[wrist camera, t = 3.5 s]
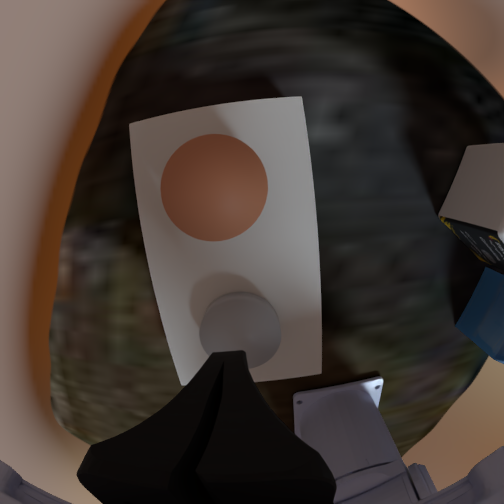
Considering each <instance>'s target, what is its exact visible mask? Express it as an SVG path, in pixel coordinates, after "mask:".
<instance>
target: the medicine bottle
mask: <svg viewBox="0 0 504 504" xmlns="http://www.w3.org/2000/svg"><path fill="white" fill-rule="evenodd" d="M438 217H439V219H440V220H441V221H442V222H443V223H444V224H445V225H446V226H447V227H448V228H449V229H450V230H452V231H453V232H454V233H455V234H456V235H457V236H458V237H459V238H460V239H461V240H462V241H463V243H464V244H465V245H466V246H467V247H468V248H469V249H470V250H471V251H472V252H473V253H474V254H475V255H476V256H477V257H478V258H479V259H480V260H482V261H484V262H486V263H488V264H491V265H493V266H495V267H497V268H500V269H502V270H504V143H495V144H482V145H470V146H467V147H466V150H465V153H464V156H463V158H462V161H461V163H460V166H459V169H458V171H457V173H456V176H455V178H454V181H453V183H452V185H451V188H450V190H449V192H448V194H447V197H446V199H445V201H444V203H443V205H442V207H441V210H440V212H439V214H438Z"/></svg>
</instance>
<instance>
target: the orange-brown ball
mask: <svg viewBox="0 0 504 504" xmlns="http://www.w3.org/2000/svg"><path fill="white" fill-rule="evenodd" d="M160 190H161V199H162V203H163V206H164V209H165V211H166V213H167V215H168V217H169V218H170V220H171V221H172V222H173V223H174V224H175V226H176V227H178V228H179V229H180V230H181V231H183V232H184V233H185V234H187V235H189V236H191V237H193V238H196V239H199V240H204V241H223V240H228V239H231V238H234V237H236V236H238V235H240V234H242V233H243V232H245V231H246V230H247V229H248V228H250V227H251V226H252V225H253V224H254V223H255V221H256V220H257V219H258V217H259V216H260V214H261V212H262V210H263V208H264V206H265V203H266V199H267V194H268V180H267V175H266V171H265V168H264V166H263V164H262V162H261V160H260V158H259V157H258V155H257V154H256V153H255V152H254V150H253V149H252V148H250V147H249V146H248V145H247V144H245V143H244V142H242V141H241V140H239V139H237V138H234V137H231V136H228V135H223V134H207V135H202V136H198V137H196V138H193V139H191V140H189V141H187V142H186V143H184V144H183V145H181V146H180V147H179V148H178V149H177V150H176V151H175V152H174V153H173V154H172V156H171V157H170V159H169V160H168V162H167V164H166V166H165V168H164V171H163V174H162V178H161V187H160Z"/></svg>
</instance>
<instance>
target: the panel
mask: <svg viewBox="0 0 504 504" xmlns="http://www.w3.org/2000/svg"><path fill="white" fill-rule="evenodd" d="M129 130H130V143H131V154H132V164H133V173H134V181H135V189H136V197H137V203H138V210H139V216H140V223H141V228H142V234H143V240H144V245H145V250H146V255H147V260H148V265H149V270H150V274H151V279H152V283H153V288H154V292H155V296H156V300H157V304H158V308H159V312H160V316H161V320H162V323H163V327H164V331H165V334H166V338H167V341H168V344H169V348H170V351H171V354H172V358H173V361H174V364H175V367H176V370H177V373H178V376H179V379H180V382H181V385H187V384H188V383H189V382H190V380H191V379H192V378H193V377H194V376H195V374H196V373H197V372H198V371H199V369H200V368H201V367H202V365H203V364H204V363H205V361H206V360H207V359H208V357H209V356H208V354H207V353H206V352H205V350H204V349H203V347H202V345H201V342H200V337H199V331H200V326H201V322H202V320H203V317H204V314H205V312H206V310H207V308H208V307H209V305H210V304H211V303H212V302H213V301H214V300H216V299H217V298H219V297H220V296H222V295H225V294H228V293H232V292H248V293H253V294H256V295H258V296H260V297H262V298H264V299H265V300H266V301H268V302H269V303H270V304H271V305H272V306H273V308H274V309H275V311H276V313H277V315H278V318H279V323H280V329H281V342H280V346H279V348H278V350H277V352H276V353H275V355H274V356H273V357H272V358H271V359H270V360H268V361H267V362H266V363H264V364H262V365H260V366H258V367H255V368H251V369H249V371H250V374H251V376H252V378H253V381H254V382H262V381H271V380H280V379H289V378H296V377H303V376H310V375H316V374H322V313H321V282H320V262H319V245H318V231H317V218H316V206H315V195H314V185H313V176H312V167H311V159H310V151H309V143H308V135H307V128H306V121H305V115H304V108H303V102H302V97H283V98H269V99H258V100H249V101H240V102H232V103H225V104H218V105H212V106H206V107H200V108H195V109H189V110H184V111H180V112H175V113H170V114H166V115H162V116H157V117H153V118H149V119H145V120H142V121H138V122H134V123H131V124H129ZM207 134H223V135H228V136H231V137H234V138H237V139H239V140H241V141H242V142H244V143H245V144H247V145H248V146H249V147H250V148H252V149H253V150H254V152H255V153H256V154H257V155H258V157H259V158H260V160H261V162H262V164H263V166H264V168H265V171H266V175H267V180H268V194H267V199H266V203H265V206H264V208H263V210H262V212H261V214H260V216H259V217H258V219H257V220H256V221H255V223H254V224H253V225H252V226H251V227H250V228H248V229H247V230H246V231H245V232H243V233H242V234H240V235H238V236H236V237H234V238H231V239H228V240H223V241H204V240H199V239H196V238H193V237H191V236H189V235H187V234H185V233H184V232H183V231H181V230H180V229H179V228H178V227H176V226H175V224H174V223H173V222H172V221H171V220H170V218H169V217H168V215H167V213H166V211H165V209H164V206H163V203H162V199H161V190H160V187H161V178H162V174H163V171H164V168H165V166H166V164H167V162H168V160H169V159H170V157H171V156H172V154H173V153H174V152H175V151H176V150H177V149H178V148H179V147H180V146H181V145H183V144H184V143H186V142H187V141H189V140H191V139H193V138H196V137H198V136H202V135H207Z"/></svg>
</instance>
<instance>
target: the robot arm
mask: <svg viewBox="0 0 504 504" xmlns="http://www.w3.org/2000/svg"><path fill="white" fill-rule="evenodd" d="M377 385H378V386H377ZM382 386H383V379H382V377H380V376H378V377H374V378H369V379H365V380H361V381H356V382H352V383H347V384H342V385H337V386H332V387H326V388H321V389H315V390H308V391H301V392H297V393H295V394H294V395H293V406H294V428H295V434H294V433H293V432H292V431H291V430H290V429H289V428H288V427H287V426H286V425H285V424H284V423H283V422H282V421H281V420H280V419H279V418H278V417H277V415H276V414H275V413H274V412H273V411H272V409H271V408H270V407H269V405H268V404H267V403H266V401H265V400H264V398H263V397H262V395H261V393H260V392H259V390H258V388H257V386H256V385H255V383H254V381H253V378H252V376H251V374H250V371H249V368H248V362H247V356H246V352H245V351H243V350H236V351H224V352H213V353H212V354H211V355H210V356H209V357H208V359H207V360H206V361H205V363H204V364H203V365H202V367H201V368H200V369H199V371H198V372H197V373H196V374H195V376H194V377H193V378H192V379H191V380H190V382H189V383H188V384H187V385H186V386H185V387H184V388H183V389H182V390H181V391H180V392H179V393H178V394H177V395H176V396H175V397H174V398H173V399H172V400H171V401H170V402H169V403H168V404H167V405H165V406H164V407H163V408H162V409H161V410H159V411H158V412H157V413H155V414H154V415H152V416H151V417H149V418H148V419H146V420H145V421H143V422H142V423H140V424H139V425H137V426H135V427H133V428H131V429H130V430H128V431H126V432H124V433H122V434H119V435H117V436H115V437H113V438H110V439H107V440H105V441H102V442H99V443H97V444H93V445H91V446H90V448H89V450H88V452H87V454H86V455H85V457H84V459H83V461H82V463H81V465H80V468H79V469H78V471H77V477H78V479H79V481H80V483H81V484H82V485H83V486H84V487H85V488H86V489H87V490H88V491H89V492H90V493H92V494H93V495H94V496H95V497H96V498H97V499H98V500H99V501H100V502H101V503H103V504H504V446H502V447H501V448H499V449H497V450H496V451H494V452H493V453H492V454H490V455H489V456H487V457H486V458H484V459H483V460H481V461H480V462H479V463H478V464H476V465H475V466H474V467H473V468H472V469H471V471H470V472H469V473H468V475H467V476H466V477H464V478H463V479H461V480H459V481H457V482H456V483H454V484H452V485H450V486H448V487H447V488H445V489H442V490H441V491H439V492H437V490H436V488H435V485H434V483H433V481H432V480H431V477H430V475H429V473H428V471H427V469H426V467H425V466H424V465H420V464H419V465H417V463H413V464H412V465H410V466H408V468H407V467H406V465H405V464H404V462H403V460H402V458H401V456H400V454H399V452H398V450H397V448H396V445H395V443H394V441H393V439H392V437H391V435H390V433H389V431H388V428H387V426H386V424H385V422H384V420H383V418H382V416H381V414H380V412H379V410H378V405H379V400H380V395H381V391H382ZM297 401H300V402H297ZM408 469H409V470H408ZM0 504H71V503H69V502H67V501H65V500H62V499H60V498H58V497H56V496H53V495H52V494H50V493H47V492H45V491H44V490H42V489H40V488H37V487H36V486H34V485H32V484H30V483H28V482H27V481H25V480H23V479H22V477H21V476H20V475H19V474H18V473H17V472H16V471H14V469H12V468H11V467H10V466H8V465H7V464H5V463H4V462H2V461H1V460H0Z"/></svg>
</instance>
